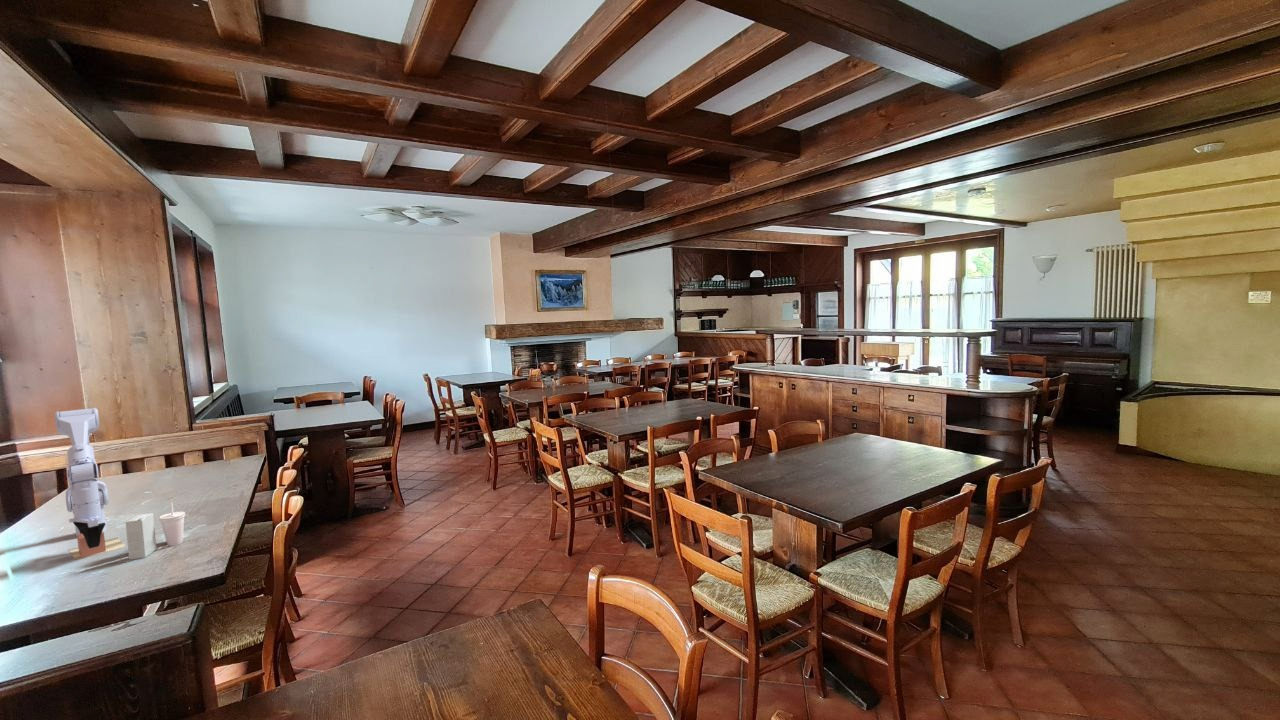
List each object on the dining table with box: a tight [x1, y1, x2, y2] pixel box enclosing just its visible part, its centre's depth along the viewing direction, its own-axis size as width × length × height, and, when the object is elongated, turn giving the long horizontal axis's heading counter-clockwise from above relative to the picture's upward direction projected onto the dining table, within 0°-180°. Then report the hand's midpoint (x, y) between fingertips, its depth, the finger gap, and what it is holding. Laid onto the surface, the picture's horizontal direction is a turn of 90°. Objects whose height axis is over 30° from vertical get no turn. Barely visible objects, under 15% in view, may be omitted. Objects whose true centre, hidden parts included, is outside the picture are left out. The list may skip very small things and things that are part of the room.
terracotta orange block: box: [76, 531, 106, 559], centre depth 162 cm, size 5×5×6 cm
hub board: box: [68, 537, 127, 561], centre depth 166 cm, size 13×11×4 cm
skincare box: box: [125, 512, 158, 560], centre depth 161 cm, size 6×4×12 cm
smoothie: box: [158, 501, 186, 547], centre depth 169 cm, size 6×6×14 cm
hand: (91, 544), depth 162 cm, fingers open, 7 cm apart
